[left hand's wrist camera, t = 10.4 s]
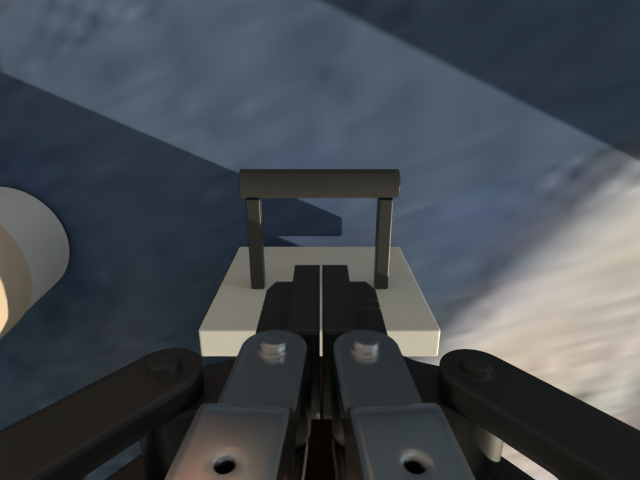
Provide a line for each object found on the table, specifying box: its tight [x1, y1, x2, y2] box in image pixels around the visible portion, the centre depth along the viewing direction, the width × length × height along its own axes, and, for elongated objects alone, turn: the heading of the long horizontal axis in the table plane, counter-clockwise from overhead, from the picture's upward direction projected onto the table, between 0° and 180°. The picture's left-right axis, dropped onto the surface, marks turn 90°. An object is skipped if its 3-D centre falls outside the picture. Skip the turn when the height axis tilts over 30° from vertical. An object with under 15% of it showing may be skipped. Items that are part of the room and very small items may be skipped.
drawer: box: [199, 169, 440, 480], centre depth 23 cm, size 25×9×9 cm, turn 0°
